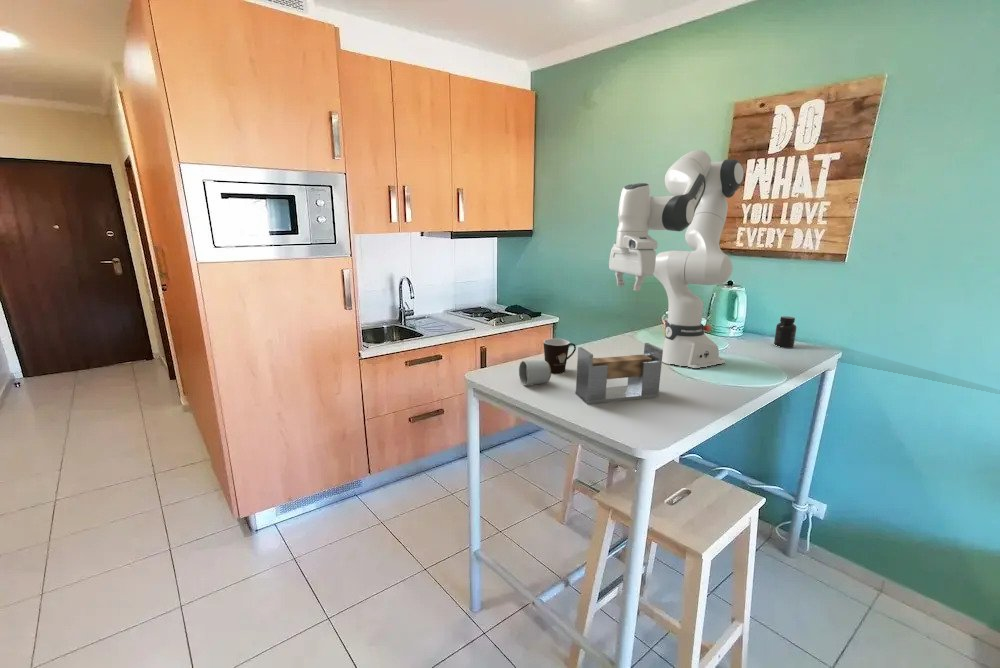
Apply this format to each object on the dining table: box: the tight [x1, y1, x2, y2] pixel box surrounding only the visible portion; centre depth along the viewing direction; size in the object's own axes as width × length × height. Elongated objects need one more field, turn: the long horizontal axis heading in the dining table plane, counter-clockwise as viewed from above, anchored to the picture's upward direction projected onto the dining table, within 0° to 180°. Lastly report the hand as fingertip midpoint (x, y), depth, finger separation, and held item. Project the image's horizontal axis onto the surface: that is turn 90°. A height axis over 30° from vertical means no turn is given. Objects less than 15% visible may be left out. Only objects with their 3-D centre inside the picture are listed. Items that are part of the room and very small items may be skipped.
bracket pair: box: [574, 342, 663, 405], centre depth 122 cm, size 22×8×14 cm, turn 104°
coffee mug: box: [542, 338, 577, 375], centre depth 143 cm, size 12×9×10 cm
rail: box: [593, 354, 652, 380], centre depth 122 cm, size 18×4×5 cm, turn 104°
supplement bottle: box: [773, 315, 797, 348], centre depth 174 cm, size 7×7×12 cm
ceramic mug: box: [518, 359, 552, 386], centre depth 133 cm, size 11×8×8 cm
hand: (628, 288), depth 130 cm, fingers open, 8 cm apart
